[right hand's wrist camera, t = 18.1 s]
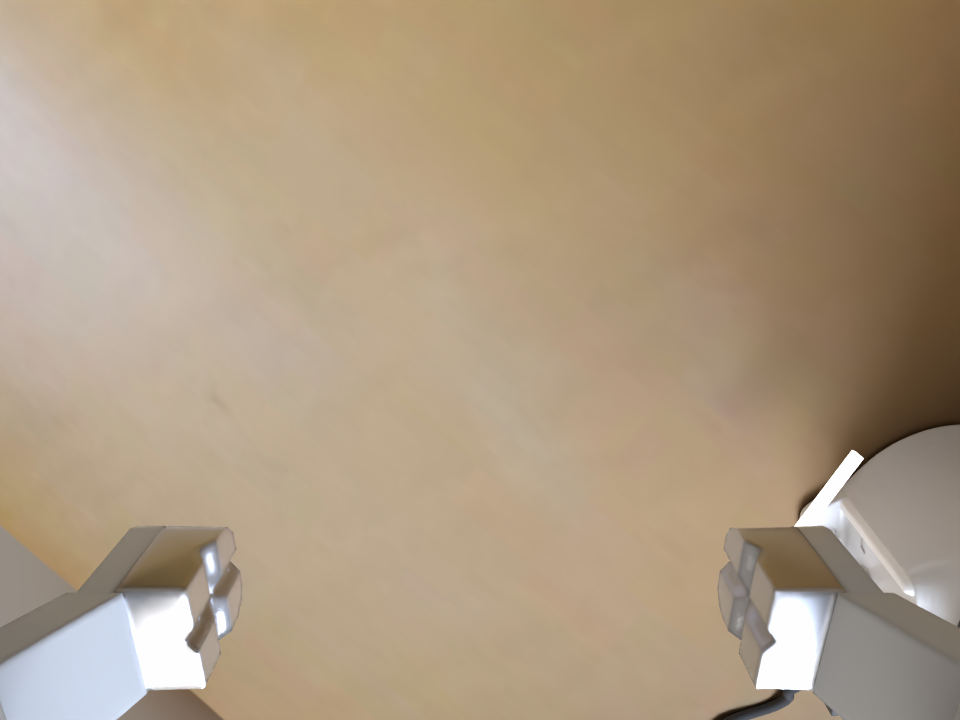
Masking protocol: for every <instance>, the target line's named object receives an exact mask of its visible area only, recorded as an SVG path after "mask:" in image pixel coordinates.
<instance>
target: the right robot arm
mask: <svg viewBox="0 0 960 720" xmlns="http://www.w3.org/2000/svg"><path fill="white" fill-rule="evenodd" d="M863 459H864V458H863V457H861V456H860V455H859V454H858V453H857V452H855V451H853V450H852V451H851V452H850V453H849V455H848V456H847V457H846V459H845V460H844V461H843V463H842V464H841V465H840V467H839V468H838V469H837V471H836V472H835V473H834V475H833V476H832V477H831V479H830V480H829V481H828V482H827V484H826V485H825V486H824V488H823V489H822V490H821V492H820V493H819V494H818V496H817V497H816V498H815V500H813V501H811V502H810V503H809V504H807V505H806V506H805V507H804V508H803V509H802V511H801V514H800V520H799V521H798V522H797V523H796V525H795V526H792V527H774V528H730V529H729V531H728V533H727V535H726V538H725V544H724V550H725V552H726V554H727V556H728V558H729V560H730V562H729V563H728V564H727V565H726V566H725V567H724V568H723V569H722V570H721V571H720V574H719V582H718V598H719V607H720V610H721V614H722V618H723V620H724V622H725V625H726V627H727V629H728V631H729V632H731V633H732V634H733V635H735V636H736V637H737V638H739V639H740V640H741V645H740V650H739V654H740V656H741V658H742V660H743V663H744V665H745V667H746V669H747V671H748V673H749V675H750V677H751V679H752V681H753V683H754V685H755V687H756V688H759V689H783V695H782V696H780V697H779V698H777V699H775V700H773V701H770V702H767V703H765V704H762V705H758V706H755V707H752V708H748V709H745V710H742V711H739V712H737V713H734V714H732V715H730V716H728V717H726V718H724V719H723V720H749V719H753V718H756V717H759V716H763V715H766V714H769V713H772V712H775V711H777V710H779V709H782V708H783V707H785V706H787V705H788V704H790V703H791V702H792V701H793V700H794V694H795V693H797V692H799V691H801V690H813V693H814V694H815V695H816V696H817V697H818V698H819V699H821V700H822V701H823V702H824V703H825V705H826V707H827V709H828V710H829V712H830V714H831V715H832V716H836V715H839V716H840V717H841V718H842V719H844V720H960V425H948V426H942V427H937V428H932V429H928V430H925V431H922V432H919V433H916V434H913V435H911V436H908V437H906V438H904V439H902V440H900V441H898V442H896V443H894V444H892V445H890V446H889V447H887V448H885V449H884V450H882V451H881V452H879V453H878V454H877V455H875V456H874V457H873V458H871V459H870V460H869V461H868V462H867V463H866V464H864V465H863V466H862V467H861V468H860V469H859V470H858V471H857V472H856V473H855V474H854V475H853V476H852V477H851V478H850V479H849V480H848V478H849V477H850V476H851V474H852V473H853V472H854V470H855V469H856V468H857V467H858V465H859V464H860V463H861V461H862V460H863ZM847 480H848V481H847ZM846 481H847V482H846ZM235 550H236V545H235V540H234V535H233V532H232V531H231V530H230V529H229V528H228V527H193V526H168V527H166V526H137V527H134V528H131V529H130V530H129V531H128V532H127V533H126V534H125V536H124V537H123V538H122V539H121V540H120V541H119V543H118V544H117V545H116V546H115V547H114V549H113V550H112V551H111V552H110V553H109V555H108V556H107V557H106V558H105V559H104V561H103V562H102V563H101V564H100V565H99V566H98V568H97V569H96V570H95V571H94V572H93V574H92V575H91V576H90V577H89V578H88V580H87V581H86V582H85V583H84V584H83V585H82V587H81V588H80V589H79V590H78V591H77V593H65V594H63V595H61V596H59V597H58V598H56V599H54V600H52V601H50V602H48V603H46V604H44V605H42V606H40V607H39V608H37V609H35V610H33V611H31V612H29V613H27V614H25V615H23V616H22V617H20V618H18V619H16V620H14V621H12V622H10V623H8V624H6V625H4V626H3V627H1V628H0V720H117V719H118V718H119V717H120V716H121V715H122V714H124V713H125V712H126V711H127V710H128V709H129V708H131V707H132V706H133V705H134V704H135V703H136V702H137V701H139V700H140V699H141V698H142V697H143V696H144V695H146V694H147V690H165V689H199V688H204V687H205V685H206V683H207V681H208V679H209V677H210V675H211V673H212V671H213V669H214V667H215V665H216V663H217V661H218V658H219V656H220V654H221V650H220V645H219V640H220V639H221V638H223V637H224V636H225V635H227V634H228V633H229V632H231V631H232V629H233V627H234V624H235V622H236V620H237V618H238V614H239V610H240V605H241V600H242V580H241V574H240V571H239V570H238V569H237V568H236V567H235V566H234V565H233V564H232V563H231V562H230V560H231V558H232V556H233V554H234V552H235Z"/></svg>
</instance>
